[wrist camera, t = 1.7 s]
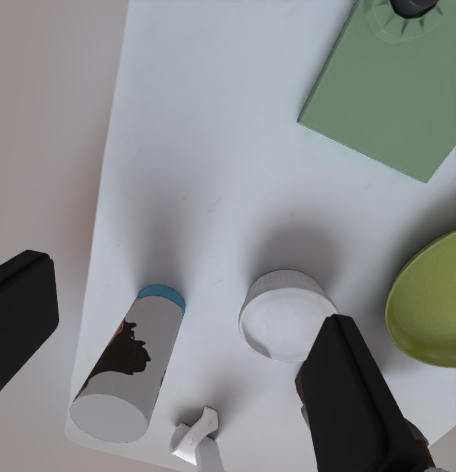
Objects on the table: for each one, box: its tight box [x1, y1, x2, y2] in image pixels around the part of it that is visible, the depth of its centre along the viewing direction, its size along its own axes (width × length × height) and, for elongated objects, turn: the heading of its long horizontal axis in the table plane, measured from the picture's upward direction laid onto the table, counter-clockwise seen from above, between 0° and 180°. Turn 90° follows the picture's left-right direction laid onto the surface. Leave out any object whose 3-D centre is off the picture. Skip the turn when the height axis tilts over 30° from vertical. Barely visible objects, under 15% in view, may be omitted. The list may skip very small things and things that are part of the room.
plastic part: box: [169, 407, 224, 472], centre depth 42 cm, size 8×10×12 cm
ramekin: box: [239, 270, 339, 362], centre depth 32 cm, size 11×11×5 cm
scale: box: [297, 0, 456, 183], centre depth 22 cm, size 14×14×3 cm
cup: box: [70, 285, 185, 443], centre depth 29 cm, size 7×7×15 cm
